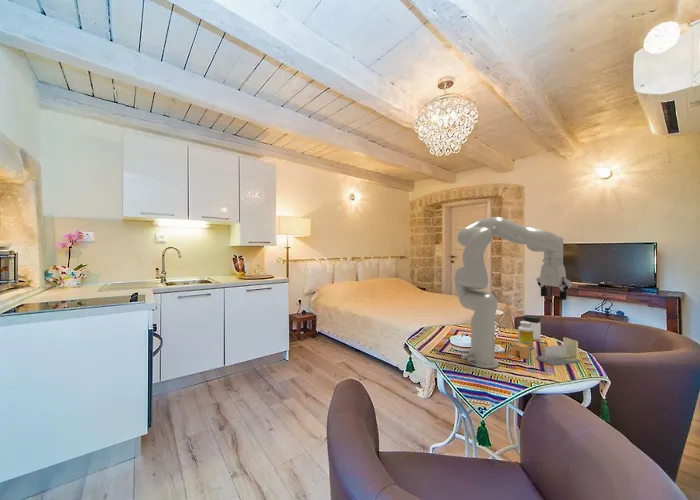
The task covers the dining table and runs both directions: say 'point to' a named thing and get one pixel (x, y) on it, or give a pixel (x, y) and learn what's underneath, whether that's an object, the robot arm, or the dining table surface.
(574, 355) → the flange rail
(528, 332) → the supplement bottle
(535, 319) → the jar
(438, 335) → the dining table surface
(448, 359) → the dining table surface
